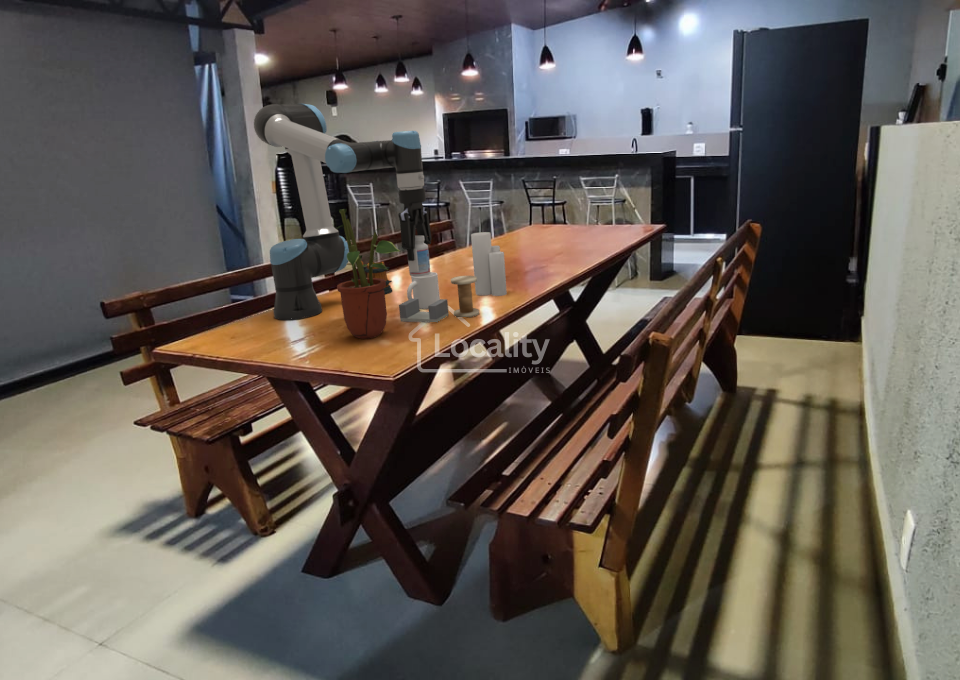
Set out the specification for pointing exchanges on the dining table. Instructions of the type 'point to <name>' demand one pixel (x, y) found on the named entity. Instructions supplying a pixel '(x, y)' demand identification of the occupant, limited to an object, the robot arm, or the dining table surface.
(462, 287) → the wooden thread spool
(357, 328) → the potted plant
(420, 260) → the pill bottle
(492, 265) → the vase
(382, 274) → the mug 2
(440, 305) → the notch board
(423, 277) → the mug
